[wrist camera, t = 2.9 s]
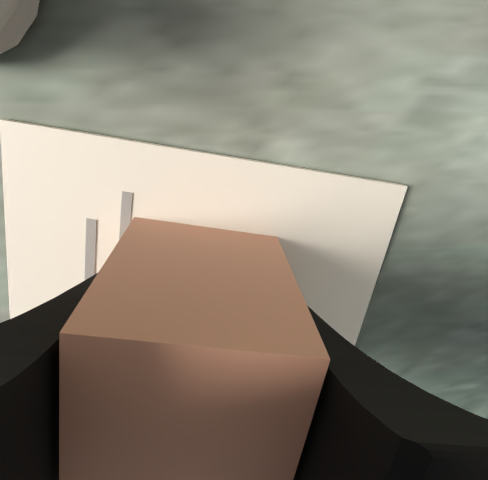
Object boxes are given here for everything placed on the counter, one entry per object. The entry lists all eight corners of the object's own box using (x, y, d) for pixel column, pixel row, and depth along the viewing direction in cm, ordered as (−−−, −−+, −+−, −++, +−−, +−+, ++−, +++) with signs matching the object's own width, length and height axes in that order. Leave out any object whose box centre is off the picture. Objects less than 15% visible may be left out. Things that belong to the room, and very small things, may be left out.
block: (125, 339, 13) (59, 521, 8) (134, 216, 12) (59, 332, 6) (251, 351, 14) (277, 529, 8) (276, 236, 12) (330, 359, 7)
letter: (17, 375, 14) (12, 382, 13) (5, 118, 11) (-2, 120, 10) (332, 401, 15) (335, 408, 15) (403, 184, 12) (408, 187, 12)
